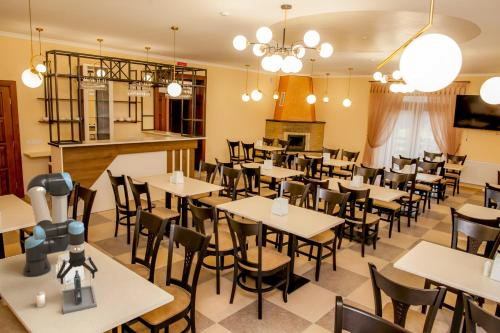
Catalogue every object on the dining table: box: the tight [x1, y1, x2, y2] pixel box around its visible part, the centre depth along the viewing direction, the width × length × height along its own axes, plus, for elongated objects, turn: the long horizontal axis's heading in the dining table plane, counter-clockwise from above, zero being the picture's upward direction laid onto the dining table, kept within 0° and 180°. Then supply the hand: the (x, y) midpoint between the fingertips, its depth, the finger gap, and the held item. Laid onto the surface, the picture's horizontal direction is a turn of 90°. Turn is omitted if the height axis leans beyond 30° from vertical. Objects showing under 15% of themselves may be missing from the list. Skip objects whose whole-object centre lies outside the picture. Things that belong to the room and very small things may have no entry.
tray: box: [61, 284, 98, 315], centre depth 194 cm, size 22×16×2 cm
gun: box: [73, 269, 82, 304], centre depth 194 cm, size 3×17×15 cm
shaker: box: [35, 290, 46, 309], centre depth 186 cm, size 4×4×9 cm
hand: (78, 286), depth 193 cm, fingers open, 13 cm apart
